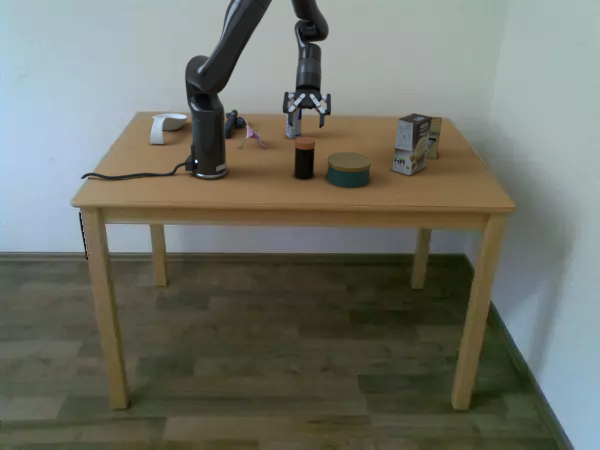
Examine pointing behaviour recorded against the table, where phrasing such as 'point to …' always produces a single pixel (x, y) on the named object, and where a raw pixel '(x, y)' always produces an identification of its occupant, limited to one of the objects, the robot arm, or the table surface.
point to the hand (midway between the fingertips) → (305, 126)
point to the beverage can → (294, 122)
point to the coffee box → (411, 143)
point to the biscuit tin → (348, 169)
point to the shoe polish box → (434, 137)
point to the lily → (252, 134)
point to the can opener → (233, 122)
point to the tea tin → (304, 158)
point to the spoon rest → (165, 126)
